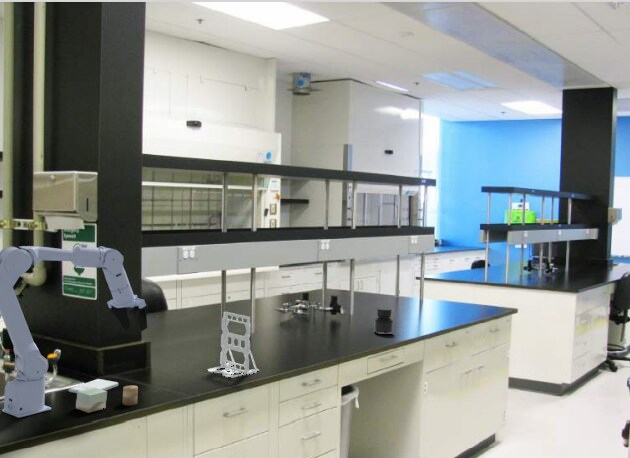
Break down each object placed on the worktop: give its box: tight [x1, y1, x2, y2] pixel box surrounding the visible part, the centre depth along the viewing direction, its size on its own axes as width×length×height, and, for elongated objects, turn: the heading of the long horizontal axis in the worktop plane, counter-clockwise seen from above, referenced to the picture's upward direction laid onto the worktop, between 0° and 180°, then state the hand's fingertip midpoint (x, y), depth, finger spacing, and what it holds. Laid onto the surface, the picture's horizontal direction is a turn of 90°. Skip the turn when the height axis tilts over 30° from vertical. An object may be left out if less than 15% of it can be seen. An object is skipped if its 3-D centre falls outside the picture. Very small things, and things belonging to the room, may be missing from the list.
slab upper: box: [76, 388, 108, 405], centre depth 174 cm, size 6×6×2 cm
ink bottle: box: [373, 307, 394, 333], centre depth 304 cm, size 10×9×12 cm
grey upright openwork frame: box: [207, 311, 260, 379], centre depth 220 cm, size 14×14×20 cm
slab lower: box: [75, 399, 107, 414], centre depth 174 cm, size 6×6×2 cm
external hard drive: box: [68, 378, 119, 394], centre depth 192 cm, size 2×8×12 cm
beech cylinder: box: [122, 385, 139, 406], centre depth 180 cm, size 4×4×4 cm
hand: (135, 328), depth 187 cm, fingers open, 7 cm apart
